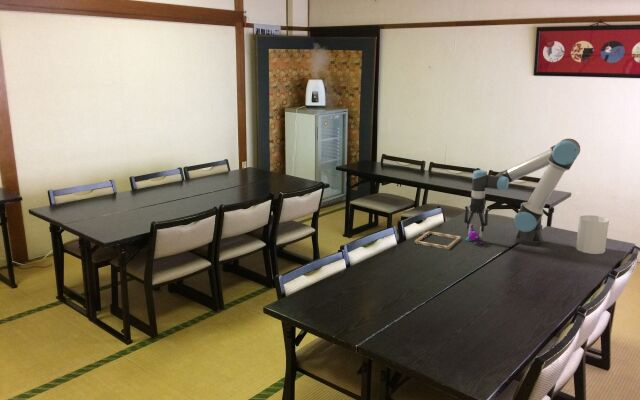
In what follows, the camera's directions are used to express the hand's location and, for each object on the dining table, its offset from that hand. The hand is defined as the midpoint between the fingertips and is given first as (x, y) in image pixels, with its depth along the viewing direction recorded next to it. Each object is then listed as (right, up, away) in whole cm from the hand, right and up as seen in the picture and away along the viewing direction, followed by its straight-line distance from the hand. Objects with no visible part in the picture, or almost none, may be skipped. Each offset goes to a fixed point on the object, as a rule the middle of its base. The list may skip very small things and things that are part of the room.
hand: (474, 235), depth 313 cm
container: (+59, -7, -16) cm, 62 cm away
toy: (-1, -4, -1) cm, 4 cm away
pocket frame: (-23, -3, 0) cm, 23 cm away
